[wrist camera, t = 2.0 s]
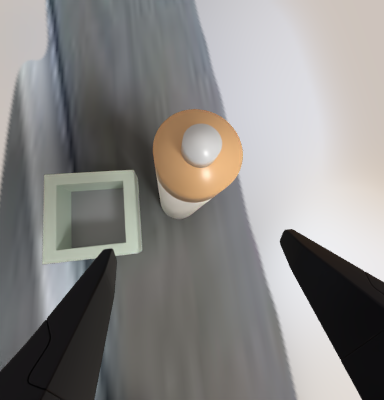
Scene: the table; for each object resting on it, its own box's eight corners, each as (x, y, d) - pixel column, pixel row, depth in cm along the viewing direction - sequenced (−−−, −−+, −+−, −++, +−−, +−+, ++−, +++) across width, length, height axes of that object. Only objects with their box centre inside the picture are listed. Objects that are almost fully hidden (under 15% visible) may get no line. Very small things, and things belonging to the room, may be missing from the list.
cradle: (142, 250, 20) (138, 253, 17) (61, 259, 19) (42, 264, 16) (138, 178, 21) (133, 169, 18) (62, 183, 20) (44, 174, 17)
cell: (198, 217, 21) (257, 187, 8) (162, 221, 21) (155, 194, 7) (194, 182, 22) (242, 97, 8) (159, 184, 21) (147, 96, 8)
